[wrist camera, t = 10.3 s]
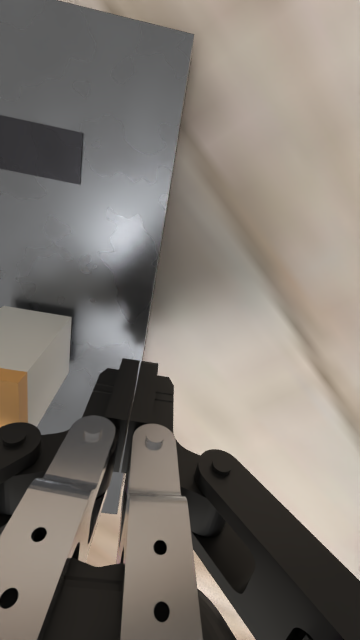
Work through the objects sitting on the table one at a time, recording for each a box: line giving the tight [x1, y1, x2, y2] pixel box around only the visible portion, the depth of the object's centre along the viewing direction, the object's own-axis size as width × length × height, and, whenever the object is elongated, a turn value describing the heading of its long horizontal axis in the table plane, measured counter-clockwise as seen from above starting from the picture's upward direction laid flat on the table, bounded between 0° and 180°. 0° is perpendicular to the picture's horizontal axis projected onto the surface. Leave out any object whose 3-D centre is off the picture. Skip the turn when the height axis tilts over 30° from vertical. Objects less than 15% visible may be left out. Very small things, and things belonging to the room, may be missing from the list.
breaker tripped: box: [0, 306, 72, 427], centre depth 12 cm, size 3×3×5 cm
